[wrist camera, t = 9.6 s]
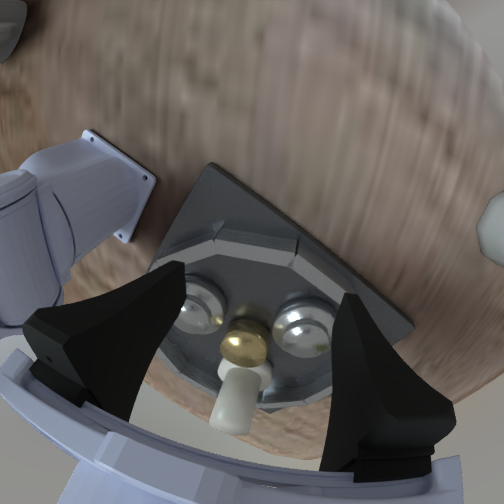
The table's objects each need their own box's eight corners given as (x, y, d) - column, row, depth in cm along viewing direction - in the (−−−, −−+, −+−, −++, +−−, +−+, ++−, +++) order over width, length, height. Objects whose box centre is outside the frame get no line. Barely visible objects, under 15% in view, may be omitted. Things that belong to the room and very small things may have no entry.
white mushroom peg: (211, 356, 30) (187, 413, 23) (255, 346, 27) (236, 411, 20) (239, 385, 32) (222, 439, 25) (282, 378, 29) (270, 438, 22)
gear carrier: (125, 320, 32) (111, 338, 29) (212, 161, 20) (193, 172, 17) (271, 408, 35) (266, 428, 32) (413, 321, 23) (421, 347, 20)
